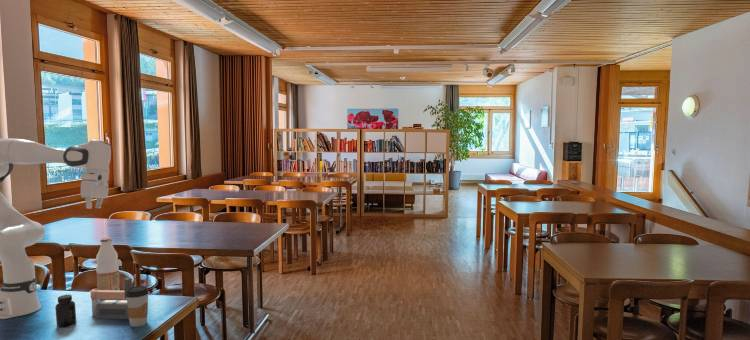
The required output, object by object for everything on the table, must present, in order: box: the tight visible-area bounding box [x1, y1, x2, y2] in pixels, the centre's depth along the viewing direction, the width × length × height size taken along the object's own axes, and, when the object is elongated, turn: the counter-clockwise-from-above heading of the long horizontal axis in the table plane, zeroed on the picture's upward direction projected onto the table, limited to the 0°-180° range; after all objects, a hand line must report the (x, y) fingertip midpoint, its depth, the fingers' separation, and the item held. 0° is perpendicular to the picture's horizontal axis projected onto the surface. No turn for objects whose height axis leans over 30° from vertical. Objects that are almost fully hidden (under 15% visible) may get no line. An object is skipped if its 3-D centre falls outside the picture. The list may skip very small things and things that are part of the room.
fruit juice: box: [95, 237, 120, 291], centre depth 226 cm, size 9×9×28 cm
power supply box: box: [91, 299, 129, 320], centre depth 200 cm, size 18×6×8 cm, turn 88°
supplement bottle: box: [54, 294, 77, 329], centre depth 191 cm, size 7×7×12 cm
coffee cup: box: [126, 285, 149, 328], centre depth 191 cm, size 8×8×15 cm
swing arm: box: [90, 277, 133, 300], centre depth 199 cm, size 18×3×8 cm, turn 88°
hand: (93, 208), depth 201 cm, fingers open, 8 cm apart
